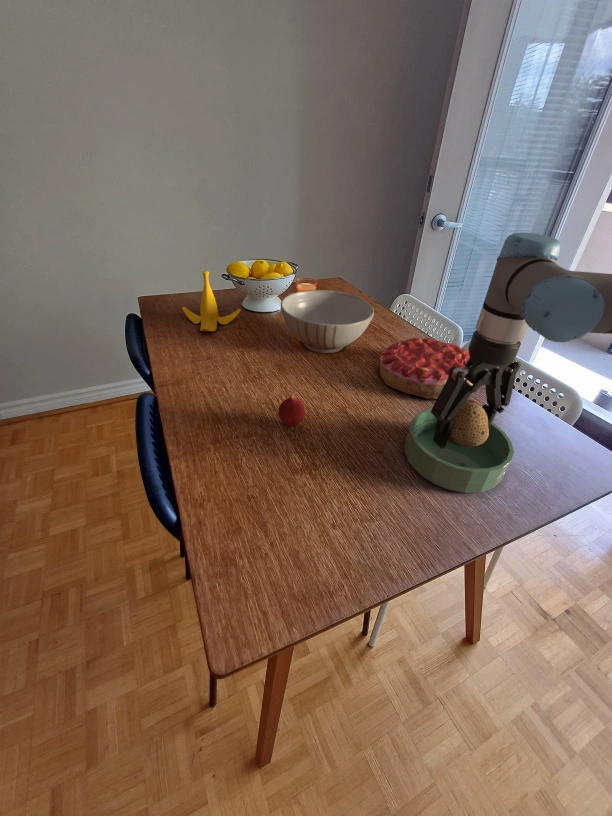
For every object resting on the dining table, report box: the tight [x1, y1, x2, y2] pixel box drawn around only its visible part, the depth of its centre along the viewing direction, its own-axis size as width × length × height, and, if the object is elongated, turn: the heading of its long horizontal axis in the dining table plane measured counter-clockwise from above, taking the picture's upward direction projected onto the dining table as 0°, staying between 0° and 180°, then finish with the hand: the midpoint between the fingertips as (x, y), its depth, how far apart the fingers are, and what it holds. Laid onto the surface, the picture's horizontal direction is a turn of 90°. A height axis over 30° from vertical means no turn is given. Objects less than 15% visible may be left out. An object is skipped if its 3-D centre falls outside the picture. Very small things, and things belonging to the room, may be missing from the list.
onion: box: [277, 393, 306, 427], centre depth 85 cm, size 6×6×8 cm
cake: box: [379, 337, 473, 400], centre depth 106 cm, size 25×25×8 cm
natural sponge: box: [447, 399, 489, 447], centre depth 77 cm, size 9×9×10 cm
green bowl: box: [403, 407, 515, 494], centre depth 80 cm, size 20×20×6 cm
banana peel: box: [181, 270, 242, 332], centre depth 121 cm, size 17×19×17 cm
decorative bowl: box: [280, 289, 375, 354], centre depth 117 cm, size 27×27×12 cm
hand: (459, 439), depth 79 cm, fingers closed on natural sponge, 9 cm apart
